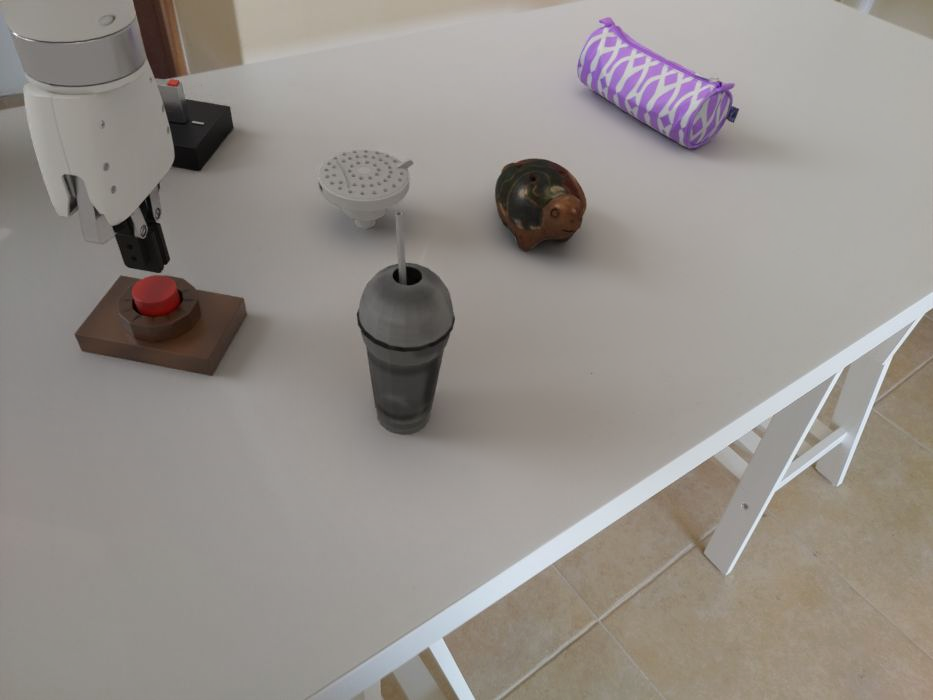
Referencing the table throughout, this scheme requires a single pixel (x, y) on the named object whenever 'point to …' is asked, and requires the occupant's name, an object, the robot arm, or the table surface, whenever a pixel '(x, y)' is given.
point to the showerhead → (364, 183)
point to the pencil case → (655, 87)
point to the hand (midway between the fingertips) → (148, 264)
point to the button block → (164, 328)
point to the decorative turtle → (539, 201)
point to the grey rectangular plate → (173, 100)
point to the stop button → (156, 296)
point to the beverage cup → (405, 339)
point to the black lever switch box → (200, 133)
